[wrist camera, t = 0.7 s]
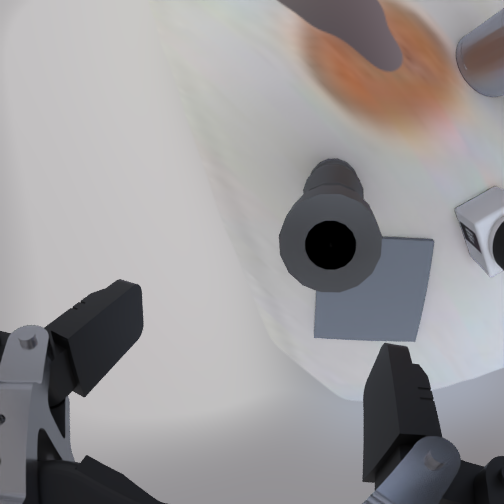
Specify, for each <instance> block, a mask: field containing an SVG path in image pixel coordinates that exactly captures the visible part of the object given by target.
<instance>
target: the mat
mask: <svg viewBox="0 0 504 504" xmlns="http://www.w3.org/2000/svg"><path fill="white" fill-rule="evenodd" d="M433 247H434V241H433V239H419V238H400V237H382V246H381V257H380V259H379V261H378V263H377V265H376V267H375V269H374V271H373V273H372V274H371V275H370V276H369V277H368V278H367V279H365V280H364V281H363V282H362V283H361V284H360V285H359V286H357V287H354V288H351V289H348V290H346V291H343V292H340V293H338V292H319V291H316V312H315V330H314V338H327V339H344V340H367V341H411V342H415V340H416V336H417V332H418V328H419V324H420V320H421V315H422V311H423V306H424V301H425V296H426V291H427V285H428V280H429V274H430V268H431V261H432V255H433Z"/></svg>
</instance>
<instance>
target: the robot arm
mask: <svg viewBox="0 0 504 504" xmlns="http://www.w3.org/2000/svg"><path fill="white" fill-rule="evenodd" d="M456 59H457V63H458V67H459V69H460V72H461V73H462V75H463V77H464V79H465V80H466V81H467V82H468V84H469V85H470V86H471V87H472V88H473V89H475V90H476V91H478V92H479V93H481V94H483V95H485V96H490V97H497V96H502V95H504V8H503V9H502V10H500V11H499V12H498V13H496V14H495V15H493V16H492V17H491V18H489V19H488V20H486V21H485V22H484V23H482V24H481V25H480V26H478V27H477V28H475V29H474V30H473V31H471V32H470V33H469V34H467V35H466V36H465V37H463V38H462V39H461V40H460V42H459V44H458V46H457V51H456ZM142 330H143V307H142V291H141V287H140V286H139V285H138V284H134V283H131V282H127V281H124V280H121V279H119V280H117V281H115V282H114V283H112V284H111V285H110V286H108V287H107V288H106V289H102V290H99V291H97V292H94V293H91V294H90V295H88V296H87V297H85V298H84V299H83V300H81V302H78V303H77V304H76V305H74V306H73V308H70V309H69V310H68V311H66V312H65V313H64V314H62V315H61V316H59V317H58V318H57V319H56V320H54V321H53V322H52V323H50V324H49V325H47V326H46V327H45V328H43V327H41V326H36V325H27V326H23V327H20V328H18V329H16V330H15V331H14V332H12V333H7V332H2V331H0V504H165V503H162V502H160V501H158V500H156V499H155V498H153V497H152V496H150V495H149V494H148V493H146V492H145V491H144V490H142V489H141V488H140V487H138V486H137V485H136V484H134V483H133V482H132V481H131V480H129V479H128V478H127V477H125V476H124V475H123V474H121V473H119V472H117V471H115V470H113V469H111V468H110V467H108V466H106V465H104V464H102V463H100V462H98V461H97V460H95V459H93V458H91V457H89V456H88V455H86V456H85V458H84V459H83V460H82V462H81V463H78V462H75V461H74V457H73V454H72V451H71V445H70V418H69V417H70V415H69V414H70V413H69V412H70V408H69V405H70V402H69V398H68V395H69V394H70V393H71V392H72V391H74V392H75V393H77V394H79V395H81V396H83V397H86V395H87V394H88V393H89V392H90V391H91V390H92V389H93V388H94V387H95V386H96V385H97V383H98V382H99V381H100V380H101V379H102V378H103V377H104V376H105V375H106V374H107V373H108V371H109V370H110V369H111V368H112V367H113V366H114V365H115V364H116V363H117V362H118V361H119V360H120V358H121V357H122V356H123V355H124V354H125V353H126V352H127V351H128V350H129V349H130V348H131V347H132V346H133V344H134V343H135V342H136V341H137V340H138V339H139V337H140V336H141V333H142ZM430 390H431V387H430V383H429V379H428V376H427V375H426V373H425V372H424V371H423V369H422V368H421V367H420V365H419V364H412V361H411V357H410V353H409V349H408V347H407V346H401V345H394V344H389V343H384V344H383V345H382V347H381V349H380V352H379V354H378V356H377V359H376V361H375V363H374V366H373V368H372V370H371V372H370V375H369V377H368V379H367V382H366V385H365V389H364V395H363V403H364V404H363V407H364V451H363V454H364V455H363V482H372V483H374V482H375V491H374V492H373V493H372V494H371V495H370V496H369V498H368V499H367V500H366V501H365V502H364V503H363V504H504V456H498V457H495V458H493V459H492V460H491V461H490V462H489V463H488V464H487V465H486V466H485V467H483V466H479V465H476V464H472V463H469V462H465V461H463V460H461V459H460V454H459V452H458V450H457V449H456V447H455V446H454V445H453V444H452V443H451V442H450V441H448V440H446V439H444V438H442V434H441V429H440V424H439V420H438V415H437V411H436V407H435V403H434V401H433V395H432V391H430Z"/></svg>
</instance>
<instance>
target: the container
mask: <svg viewBox="0 0 504 504" xmlns="http://www.w3.org/2000/svg"><path fill="white" fill-rule="evenodd" d="M455 213H456V215H457V218H458V221H459V223H460V226H461V229H462V232H463V235H464V238H465V241H466V244H467V247H468V250H469V253H470V256H471V257H472V258H473V259H474V260H475V261H476V262H477V263H478V264H479V266H480V267H481V268H482V269H483V270H484V271H485V272H486V273H487V274H488V275H489V277H493V276H495V275H497V274H498V273H500V272H502V271H504V189H501V188H499V187H496V186H495V187H493V188H491V189H489V190H487V191H486V192H484V193H482V194H480V195H479V196H477V197H475V198H473V199H471V200H470V201H468V202H466V203H464V204H462V205H461V206H459V207H457V208H456V209H455Z"/></svg>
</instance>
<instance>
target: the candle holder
mask: <svg viewBox="0 0 504 504" xmlns="http://www.w3.org/2000/svg"><path fill="white" fill-rule="evenodd" d="M303 193H304V194H303V196H302V197H301V198H300V199H299V200H298V201H297V202H296V203H295V204H294V205H293V207H292V208H291V210H290V211H289V213H288V214H287V216H286V218H285V221H284V223H283V226H282V229H281V232H280V234H279V244H280V256H281V258H282V260H283V262H284V264H285V266H286V268H287V270H288V272H289V273H290V274H291V275H292V276H293V277H294V278H295V279H297V280H298V281H299V282H300V283H301V284H302V285H304V286H306V287H309V288H311V289H314V290H316V291H319V292H338V293H340V292H343V291H346V290H348V289H351V288H354V287H357V286H359V285H360V284H361V283H362V282H363V281H364V280H365V279H367V278H368V277H369V276H370V275H371V274H372V273H373V271H374V269H375V267H376V265H377V263H378V261H379V259H380V257H381V246H382V235H381V232H380V230H379V227H378V224H377V222H376V219H375V217H374V214H373V212H372V210H371V208H370V206H369V204H368V203H367V202H366V201H365V200H364V199H363V188H362V185H361V183H360V180H359V178H358V177H357V175H356V173H355V171H354V169H353V168H352V167H351V166H350V165H349V164H348V163H347V162H345V161H342V160H340V159H327V160H325V161H322V162H320V163H319V164H318V165H317V166H316V167H315V168H314V169H313V171H312V173H311V175H310V176H309V177H308V179H307V181H306V184H305V187H304V189H303Z"/></svg>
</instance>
